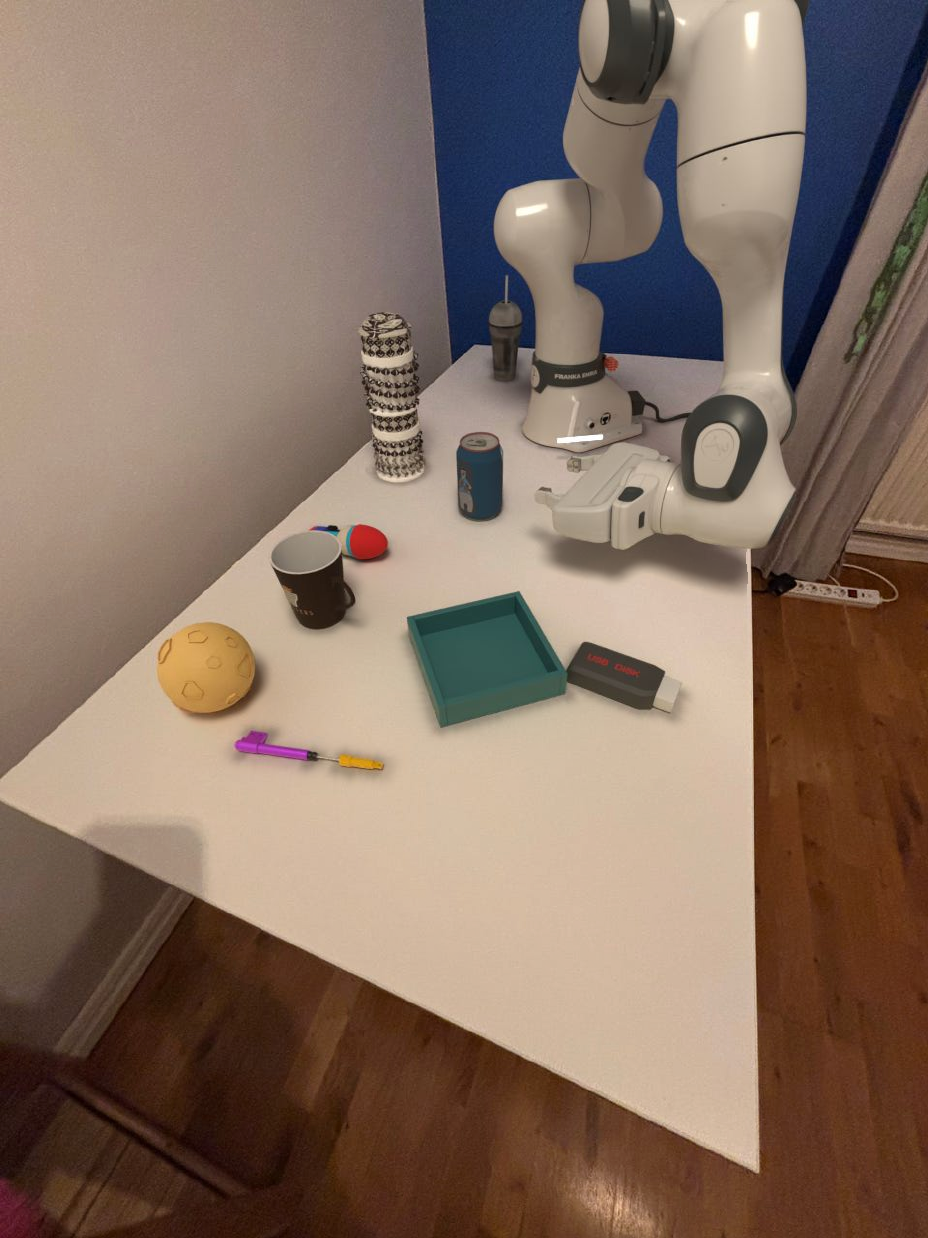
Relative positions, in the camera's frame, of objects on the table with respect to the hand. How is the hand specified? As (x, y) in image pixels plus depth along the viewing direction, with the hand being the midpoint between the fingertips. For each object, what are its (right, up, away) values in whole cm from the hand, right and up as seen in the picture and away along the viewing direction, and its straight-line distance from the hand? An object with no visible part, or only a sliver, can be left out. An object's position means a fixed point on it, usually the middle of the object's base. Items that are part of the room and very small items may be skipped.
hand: (553, 478), depth 83 cm
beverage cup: (-3, +34, +50) cm, 60 cm away
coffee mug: (-31, -20, -6) cm, 37 cm away
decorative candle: (-24, +6, +21) cm, 32 cm away
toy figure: (-30, -10, +5) cm, 32 cm away
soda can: (-10, -3, +11) cm, 15 cm away
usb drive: (+5, -27, -15) cm, 32 cm away
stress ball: (-40, -29, -15) cm, 52 cm away
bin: (-10, -25, -12) cm, 30 cm away
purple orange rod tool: (-29, -34, -21) cm, 49 cm away
